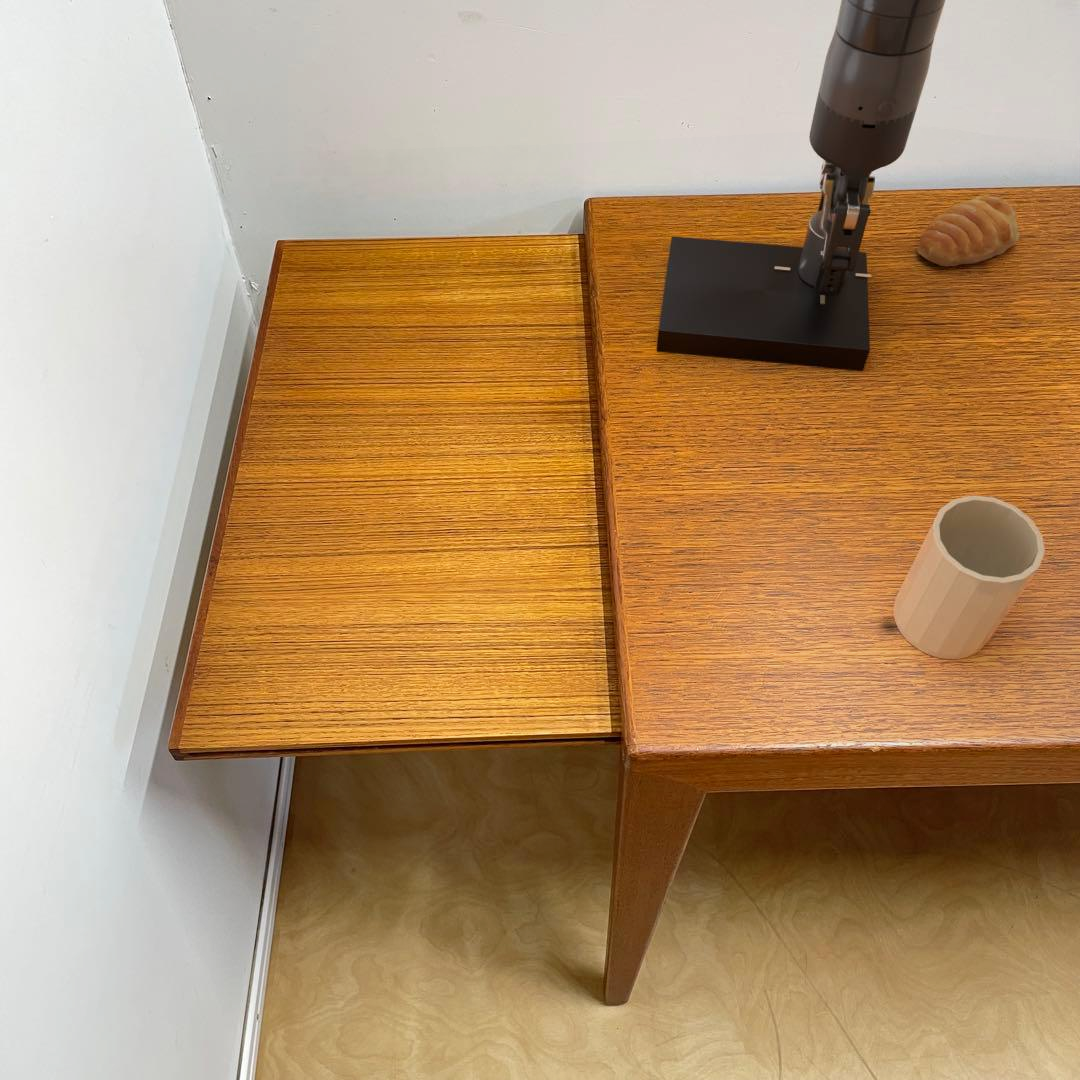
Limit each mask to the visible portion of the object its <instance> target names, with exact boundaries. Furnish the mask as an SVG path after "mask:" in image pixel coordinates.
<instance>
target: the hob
mask: <svg viewBox="0 0 1080 1080" xmlns="http://www.w3.org/2000/svg"><path fill="white" fill-rule="evenodd" d="M802 250H803V246H795V245H794V246H791V245H781V244H768V243H758V242H757V243H756V242H746V241H733V240H722V239H721V240H719V239H708V238H696V237H685V236H673V235H672V236H671V238H670V246H669V252H668V259H667V267H666V272H665V273H666V274H665V281H664V287H663V295H662V300H661V301H662V303H661V310H660V315H659V316H660V317H659V322H658V330H657V341H656V352H664V353H675V354H682V355H683V354H685V355H695V356H703V357H704V356H705V357H715V358H725V359H736V360H744V361H745V360H746V361H758V362H766V363H778V364H789V365H798V366H799V365H800V366H808V367H820V368H828V369H829V368H830V369H840V370H849V371H850V370H851V371H860V372H861V371H862V372H863V371H864V370H865V366H866V364H867V361H868V357H869V354H870V351H871V341H870V340H871V339H870V336H871V335H870V315H869V314H870V313H869V312H870V311H869V310H870V309H869V307H870V306H869V285H868V284H869V283H868V279H872V274H871V273H870V274H869V273H868V256H867V255H868V253H867V251H859V253H858V257H857V260H856V261H857V263H856V267H855V268H854V271H853V272H850V271H849V272H848V276H847V279H846V280H845V281H844V283H843V284H842V287H841V291H840V293H839V294H838V295H837V296H827V295H817V294H816V293H815V292H814V286H812V285H809V284H808V283H806V282H805V281H803V280H802V278H801V277H800V275H799V272H798V268H799V263H800V259H801V255H802Z"/></svg>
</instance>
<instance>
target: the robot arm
mask: <svg viewBox="0 0 1080 1080" xmlns="http://www.w3.org/2000/svg"><path fill="white" fill-rule="evenodd" d="M945 3H946V0H841V1H840V5H839V10H838V14H837V20H836V25H835V28H834V31H833V35H832V38H831V41H830V43H829V46H828V49H827V52H826V55H825V59H824V63H823V68H822V74H821V78H820V83H819V88H818V91H817V92H818V93H817V97H816V102H815V105H814V112H813V116H812V121H811V125H810V131H809V143H810V146H811V148H812V149H813V151H814V152H815V154H816V155H817V156H818V157H819V158H821V159H822V160H823V161H822V165H821V170H820V177H819V189H820V194H821V195H820V200H819V204H818V207H817V212H819V211H822V214H821V221H820V230H821V231H822V232H824V241H823V248H822V251H821V252H820V257H821V260H820V264H819V268H818V272H817V276H816V280H815V284H814V292H815V293H816V294H817V295H827V296H837V295H838V294H839V293H840V291H841V287H842V284H843V280H844V277H845V273H846V271H850V272H853V271H854V268H855V267H856V263H857V261H856V260H857V257H858V253H859V252H860V249H861V245H862V242H863V241H862V240H863V237H864V235H865V234H864V233H865V231H866V226H867V224H868V219H869V217H870V216H871V213H872V212H871V211H872V209H871V205H870V204H869V200H870V199H871V198H872V197H873V194H874V189H875V185H876V177H875V176H874V175H872V173H873V172H874V171H876V170H879V169H881V168H886V167H887V166H889V165H891V164H893V163H894V162H896V161H897V160H898V159H899V158H900V157H901V156H902V155H903V153H904V151H905V149H906V146H907V142H908V139H909V136H910V133H911V129H912V125H913V123H914V119H915V116H916V112H917V109H918V107H919V102H920V99H921V96H922V92H923V90H924V86H925V83H926V79H927V76H928V72H929V68H930V63H931V57H932V50H933V46H934V41H935V36H936V33H937V29H938V26H939V23H940V19H941V16H942V13H943V10H944V7H945ZM830 214H833V222H831V221H830V219H829V215H830ZM837 247H846V248H837Z"/></svg>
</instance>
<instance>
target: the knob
mask: <svg viewBox="0 0 1080 1080" xmlns="http://www.w3.org/2000/svg"><path fill="white" fill-rule="evenodd" d="M821 214H822V211H819V212H818V211H817V212H815V213H814V214H812V215H811V216H810V218H809V220H808V224H807V228H806V232H805V233H806V234H805V238H804V241H803V246H802V247H803V250H802V255H801V259H800V263H799V268H798V272H799V275H800V277H801V278H802V280H803V281H805V282H806V283H808V284H809V285H812V286H814V284H815V280H816V276H817V272H818V268H819V264H820V260H821V257H820V252H821V251H822V248H823V241H824V232H822V231H821V230H820V221H821ZM829 219H830V221H831V222H833V214H830V215H829ZM837 248H846V247H837ZM848 272H849V271H846V273H845V277H844V280H843V283H844V281H845V280H846V279H847V276H848Z"/></svg>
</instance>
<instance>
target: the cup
mask: <svg viewBox="0 0 1080 1080" xmlns="http://www.w3.org/2000/svg"><path fill="white" fill-rule="evenodd" d="M1043 537H1044V536H1043V534H1042V532H1041V531H1040V529H1039V528H1038V526H1037V525H1036V523H1035V522H1034V520H1033V519H1032V518H1031V517H1030V516H1028V515H1027V514H1026V513H1025V512H1023V511H1022V510H1021V509H1020V508H1018V507H1017V506H1015V505H1014V504H1011V503H1009V502H1006V501H1004V500H1002V499H999V498H997V497H993V496H985V495H984V496H983V495H976V494H975V495H974V494H973V495H968V496H967V495H966V496H963V497H958V498H954V499H952V500H951V501H949V502H948V503H946V504H945V505H943V506H942V507H940V509H938V512H937V514H936V516H935V517H934V521H933V522H932V524H931V526H930V528H929V529H928V532H927V534H926V535H925V538H924V540H923V542H922V544H921V545H920V548H919V550H918V552H917V554H916V556H915V558H914V560H913V562H912V564H911V566H910V568H909V570H908V572H907V573H906V576H905V578H904V580H903V582H902V584H901V586H900V588H899V590H898V592H897V594H896V596H895V598H894V601H893V607H892V614H893V619H894V623H895V624H896V627H897V629H898V631H899V633H900V634H901V635H902V637H903V638H904V639H905V640H906V641H907V642H909V644H910V645H912V646H913V647H914V648H916V649H917V650H919V651H921V652H922V653H924V654H927V655H929V656H931V657H935V658H939V659H943V660H959V659H965V658H967V657H971V656H973V655H975V654H977V653H978V652H980V650H982V649H983V648H984V647H985V646H986V644H988V643H989V641H990V640H991V639H992V636H993V635H995V633H996V631H997V630H998V628H999V627H1000V625H1001V624H1002V622H1003V620H1005V618H1006V617H1007V616H1008V614H1009V612H1010V611H1011V609H1013V606H1014V605H1015V604H1016V602H1017V601H1018V599H1019V598H1020V596H1021V595H1022V594H1023V592H1024V590H1025V589H1026V588H1027V586H1028V584H1029V583H1030V581H1031V580H1032V579H1033V577H1034V576H1035V574H1037V571H1038V570H1039V568H1040V567H1041V564H1042V562H1043V560H1044V556H1045V554H1046V550H1045V543H1044V538H1043Z"/></svg>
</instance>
